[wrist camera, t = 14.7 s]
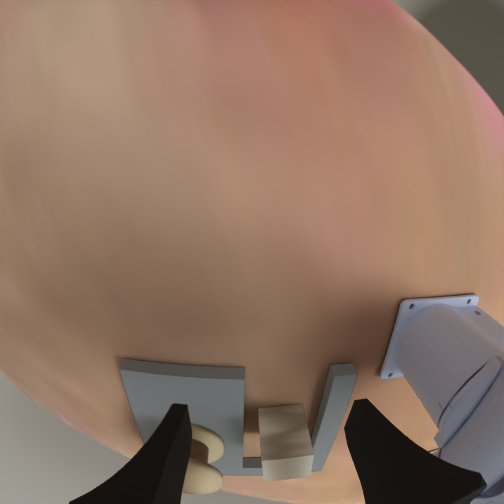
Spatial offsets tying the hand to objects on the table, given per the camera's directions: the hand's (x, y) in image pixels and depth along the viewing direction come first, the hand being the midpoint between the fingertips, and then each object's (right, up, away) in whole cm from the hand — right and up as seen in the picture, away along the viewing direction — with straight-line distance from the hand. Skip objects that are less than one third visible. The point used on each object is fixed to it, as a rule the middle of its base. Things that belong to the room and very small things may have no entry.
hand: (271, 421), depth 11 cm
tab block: (+2, -8, +13) cm, 16 cm away
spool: (-7, -11, +12) cm, 17 cm away
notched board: (-2, -10, +13) cm, 16 cm away
